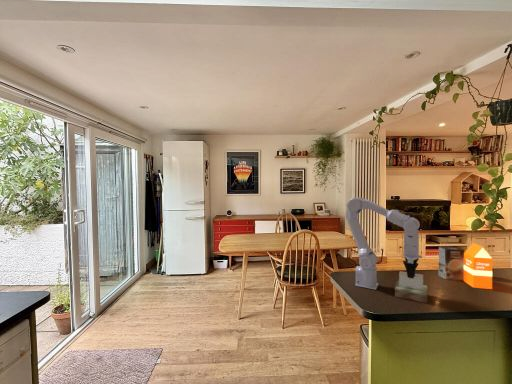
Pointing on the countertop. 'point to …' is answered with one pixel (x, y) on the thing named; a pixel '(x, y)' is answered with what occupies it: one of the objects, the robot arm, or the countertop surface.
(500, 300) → the countertop surface
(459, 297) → the countertop surface
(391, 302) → the countertop surface
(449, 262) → the coffee box
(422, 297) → the stand
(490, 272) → the orange juice
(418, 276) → the housing
